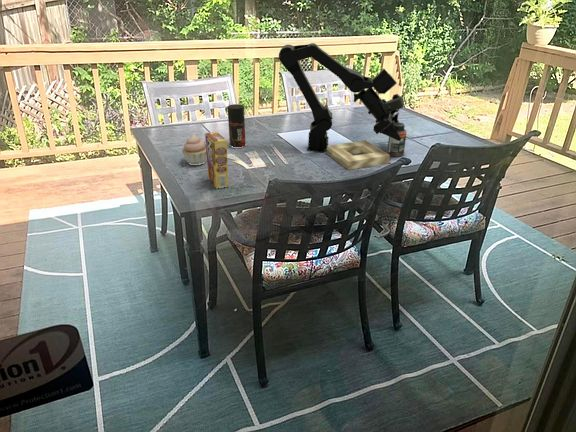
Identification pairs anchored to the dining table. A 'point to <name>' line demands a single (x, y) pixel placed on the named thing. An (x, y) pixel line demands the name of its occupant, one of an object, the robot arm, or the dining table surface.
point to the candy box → (217, 159)
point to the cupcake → (195, 150)
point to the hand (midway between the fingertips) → (401, 137)
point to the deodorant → (236, 125)
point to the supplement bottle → (394, 145)
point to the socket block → (367, 159)
